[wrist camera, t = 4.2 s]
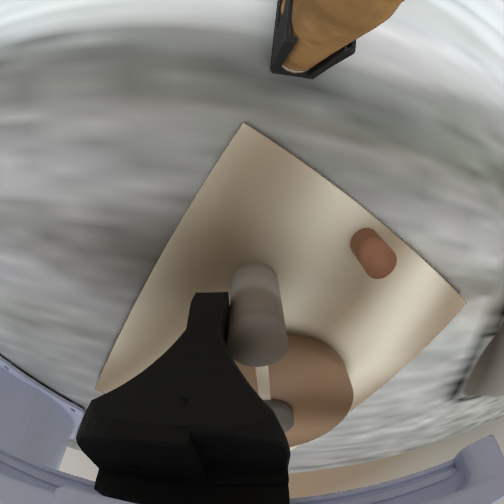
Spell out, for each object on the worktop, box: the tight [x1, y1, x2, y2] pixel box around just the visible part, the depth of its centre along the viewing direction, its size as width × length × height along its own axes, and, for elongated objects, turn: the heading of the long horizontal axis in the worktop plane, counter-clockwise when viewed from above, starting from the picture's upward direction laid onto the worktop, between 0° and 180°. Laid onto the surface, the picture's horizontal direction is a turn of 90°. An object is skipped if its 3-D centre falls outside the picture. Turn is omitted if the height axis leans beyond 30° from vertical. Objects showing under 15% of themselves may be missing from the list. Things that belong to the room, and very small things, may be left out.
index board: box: [95, 122, 467, 451], centre depth 16 cm, size 16×19×3 cm
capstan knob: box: [227, 262, 354, 447], centre depth 14 cm, size 14×10×4 cm
